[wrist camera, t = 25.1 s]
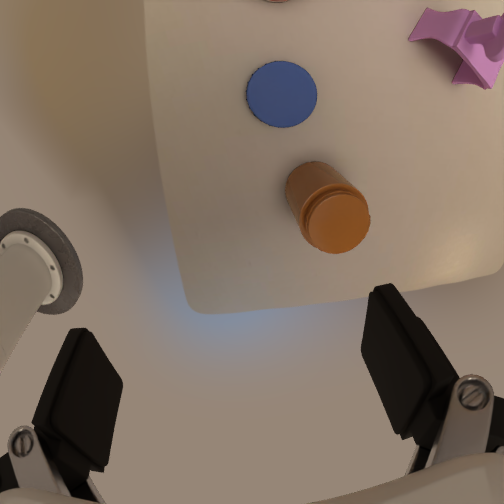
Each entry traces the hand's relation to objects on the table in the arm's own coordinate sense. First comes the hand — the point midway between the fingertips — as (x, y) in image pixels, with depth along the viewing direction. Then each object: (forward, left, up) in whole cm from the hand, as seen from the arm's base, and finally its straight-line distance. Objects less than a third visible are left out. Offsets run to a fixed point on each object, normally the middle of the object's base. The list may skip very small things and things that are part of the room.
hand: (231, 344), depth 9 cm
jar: (+9, -4, -25) cm, 27 cm away
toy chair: (+27, +14, -25) cm, 39 cm away
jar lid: (+6, +7, -24) cm, 25 cm away
